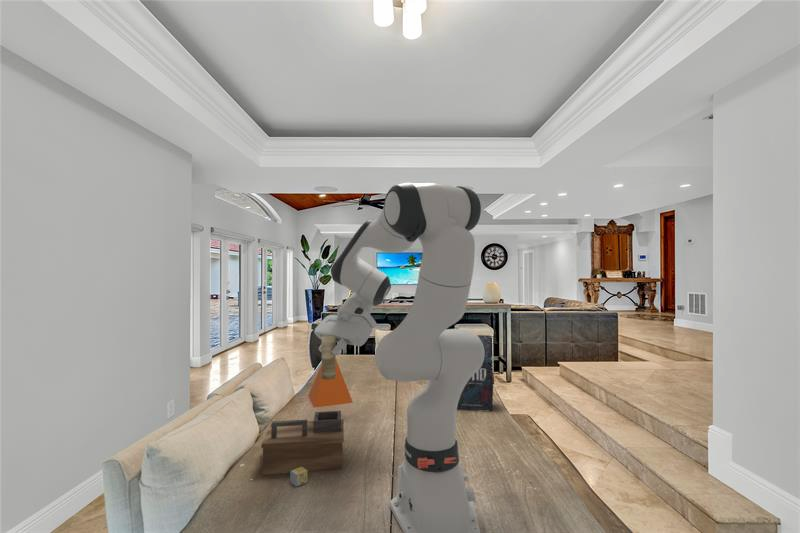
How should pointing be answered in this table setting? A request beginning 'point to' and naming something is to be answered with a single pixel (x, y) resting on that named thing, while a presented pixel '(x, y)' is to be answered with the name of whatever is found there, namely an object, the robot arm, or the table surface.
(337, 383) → the pyramid
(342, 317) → the robot arm
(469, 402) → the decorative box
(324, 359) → the dowel key
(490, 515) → the table surface
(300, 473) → the alphabet block
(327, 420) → the toolbox
